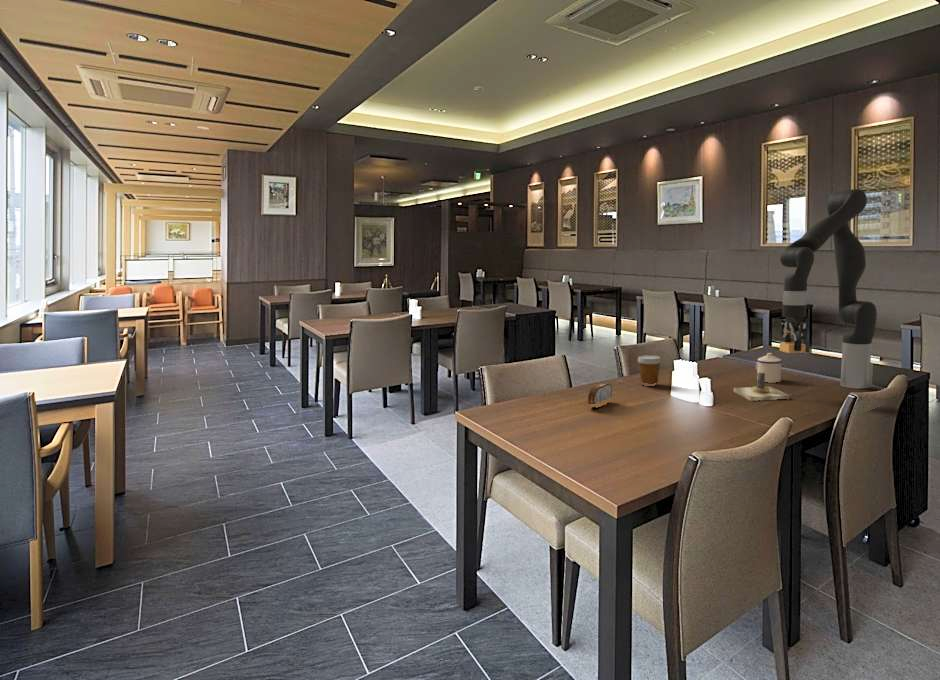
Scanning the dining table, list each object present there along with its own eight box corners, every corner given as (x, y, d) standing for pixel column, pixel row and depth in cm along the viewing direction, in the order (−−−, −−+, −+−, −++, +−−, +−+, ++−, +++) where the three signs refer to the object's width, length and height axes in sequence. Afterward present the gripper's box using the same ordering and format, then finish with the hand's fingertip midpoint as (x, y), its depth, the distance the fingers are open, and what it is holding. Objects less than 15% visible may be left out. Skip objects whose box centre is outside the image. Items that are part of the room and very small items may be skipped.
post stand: (769, 390, 219) (770, 368, 217) (789, 399, 205) (790, 376, 204) (733, 391, 219) (734, 370, 218) (750, 400, 205) (751, 378, 204)
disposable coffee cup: (664, 387, 231) (664, 358, 229) (640, 388, 231) (640, 359, 229) (657, 382, 240) (657, 354, 238) (634, 383, 240) (634, 355, 239)
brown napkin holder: (605, 401, 214) (605, 379, 213) (613, 402, 212) (613, 380, 211) (587, 410, 203) (586, 387, 201) (595, 411, 201) (594, 388, 199)
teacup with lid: (786, 382, 230) (787, 354, 229) (767, 384, 229) (767, 355, 227) (765, 376, 242) (766, 349, 240) (746, 378, 240) (747, 351, 238)
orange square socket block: (795, 349, 208) (796, 341, 207) (805, 352, 202) (805, 344, 201) (779, 350, 208) (779, 342, 207) (788, 353, 202) (788, 344, 201)
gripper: (817, 304, 195) (814, 352, 197) (793, 301, 209) (791, 346, 212) (795, 305, 195) (793, 353, 197) (773, 302, 209) (771, 346, 212)
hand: (792, 349), depth 205 cm, fingers closed on orange square socket block, 6 cm apart
